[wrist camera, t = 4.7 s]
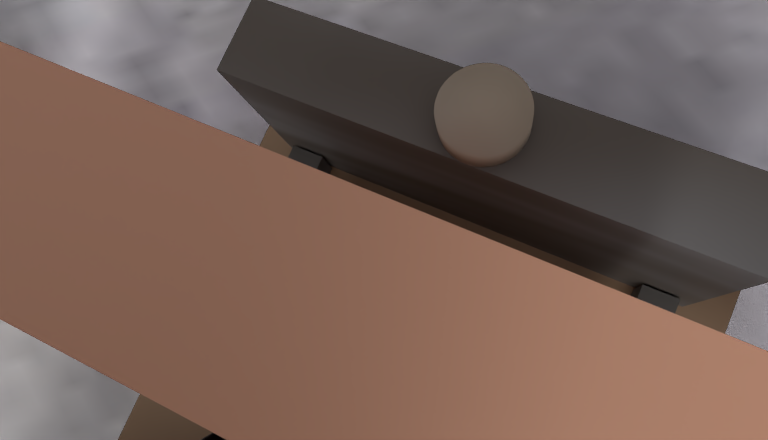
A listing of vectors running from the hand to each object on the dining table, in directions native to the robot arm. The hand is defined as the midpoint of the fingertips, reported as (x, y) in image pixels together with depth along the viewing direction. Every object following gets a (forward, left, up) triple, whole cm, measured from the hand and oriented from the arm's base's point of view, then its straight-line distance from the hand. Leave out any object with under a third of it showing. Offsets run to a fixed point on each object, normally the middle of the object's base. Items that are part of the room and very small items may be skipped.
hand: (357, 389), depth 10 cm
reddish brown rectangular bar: (+1, -1, -6) cm, 6 cm away
